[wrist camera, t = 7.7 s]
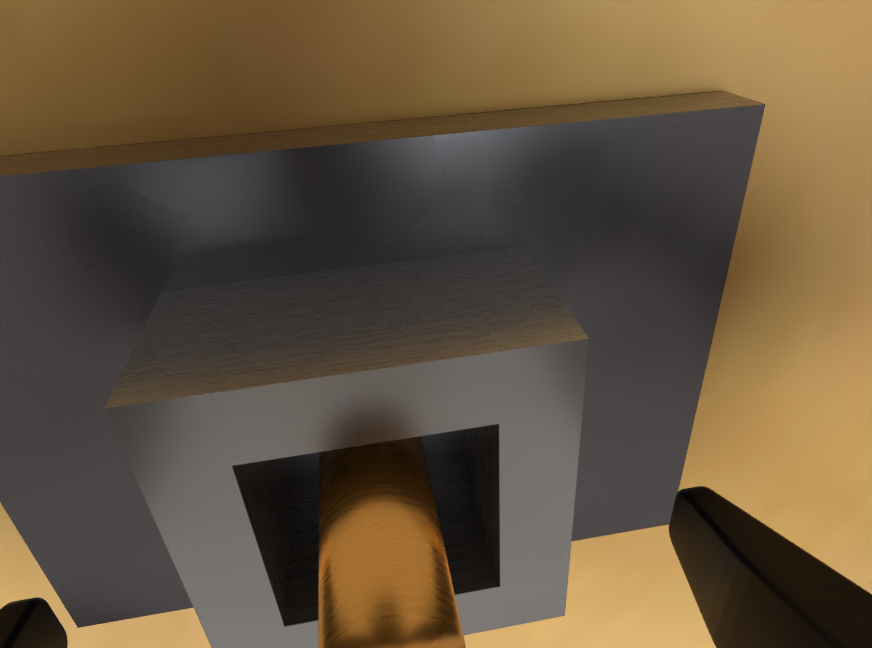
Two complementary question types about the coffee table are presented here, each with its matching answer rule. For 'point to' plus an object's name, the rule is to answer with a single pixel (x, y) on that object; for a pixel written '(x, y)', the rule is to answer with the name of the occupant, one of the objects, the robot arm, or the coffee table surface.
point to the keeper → (346, 248)
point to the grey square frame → (357, 430)
